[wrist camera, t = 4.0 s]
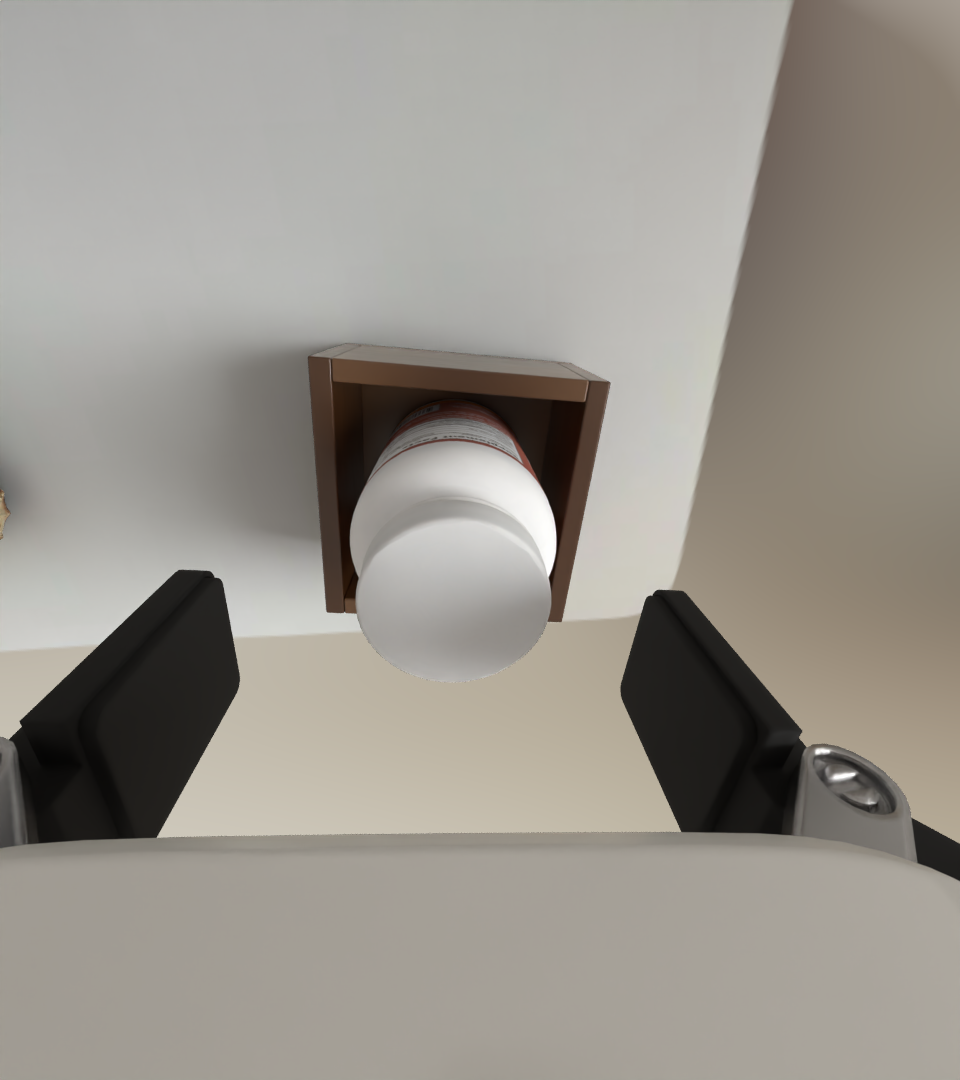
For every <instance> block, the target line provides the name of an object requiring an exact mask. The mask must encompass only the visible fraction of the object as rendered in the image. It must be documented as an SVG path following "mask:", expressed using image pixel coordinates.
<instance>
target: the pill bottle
mask: <svg viewBox="0 0 960 1080" xmlns="http://www.w3.org/2000/svg"><path fill="white" fill-rule="evenodd" d="M350 549H351V556H352V560H353V563H354V566H355V569H356V572H357V575H358V577H359V580H358V583H357V588H356V603H355V605H356V611H357V617H358V621H359V624H360V627H361V629H362V631H363V633H364V635H365V637H366V638H367V640H368V642H369V643H370V644H371V646H372V647H373V648H374V649H375V650H376V652H377V653H378V654H379V655H380V656H382V657H383V658H384V659H385V660H387V661H388V662H389V663H390V664H392V665H393V666H395V667H397V668H398V669H400V670H402V671H404V672H406V673H408V674H411V675H413V676H416V677H419V678H422V679H426V680H432V681H438V682H466V681H472V680H477V679H481V678H484V677H488V676H491V675H493V674H496V673H499V672H501V671H502V670H504V669H506V668H508V667H509V666H511V665H513V664H514V663H516V662H517V661H518V660H520V659H521V658H522V657H524V656H525V655H526V654H527V653H528V652H529V650H531V649H532V647H533V646H534V645H535V644H536V643H537V641H538V639H539V638H540V637H541V635H542V634H543V631H544V629H545V627H546V624H547V621H548V618H549V615H550V610H551V588H550V582H549V578H548V577H549V575H550V573H551V570H552V567H553V564H554V560H555V554H556V528H555V522H554V517H553V513H552V510H551V507H550V505H549V502H548V499H547V497H546V495H545V493H544V491H543V489H542V487H541V485H540V483H539V481H538V479H537V477H536V475H535V473H534V471H533V469H532V467H531V465H530V463H529V461H528V459H527V457H526V455H525V453H524V451H523V449H522V447H521V445H520V443H519V441H518V439H517V437H516V435H515V434H514V432H513V431H512V430H511V428H510V427H509V426H508V424H507V423H506V422H505V421H504V420H503V419H502V418H501V417H500V416H499V415H497V414H496V413H495V412H493V411H492V410H490V409H488V408H486V407H484V406H482V405H480V404H477V403H474V402H471V401H466V400H459V399H448V400H440V401H435V402H432V403H429V404H426V405H424V406H421V407H420V408H418V409H416V410H414V411H413V412H411V413H410V414H409V415H407V416H406V417H405V418H404V419H403V420H402V421H401V422H400V423H399V424H398V426H397V427H396V428H395V430H394V431H393V433H392V434H391V436H390V438H389V440H388V442H387V443H386V445H385V447H384V449H383V451H382V453H381V455H380V457H379V459H378V461H377V463H376V465H375V467H374V469H373V471H372V473H371V475H370V477H369V479H368V481H367V483H366V485H365V487H364V489H363V491H362V493H361V495H360V498H359V500H358V503H357V505H356V508H355V511H354V514H353V518H352V523H351V528H350Z"/></svg>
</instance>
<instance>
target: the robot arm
mask: <svg viewBox="0 0 960 1080" xmlns="http://www.w3.org/2000/svg"><path fill="white" fill-rule="evenodd" d="M239 682H240V676H239V669H238V664H237V658H236V653H235V647H234V642H233V636H232V631H231V625H230V620H229V614H228V609H227V603H226V598H225V593H224V587H223V583H222V581H221V579H219V578H214V575H213V574H212V572H210V571H198V570H178V571H177V572H175V573H174V574H173V575H172V576H171V577H170V578H169V579H168V580H167V581H166V582H165V583H164V584H163V585H162V586H161V587H160V588H159V589H158V590H156V591H155V592H154V593H153V594H152V595H151V596H150V597H149V598H148V599H147V600H146V601H145V602H144V603H143V604H142V605H141V606H140V607H139V608H138V609H137V610H136V611H134V612H133V613H132V614H131V615H130V616H129V617H128V618H127V619H126V620H125V621H124V622H123V623H122V624H121V625H120V626H119V627H118V628H117V629H116V630H115V631H114V632H113V633H111V634H110V635H109V636H108V637H107V638H106V639H105V640H104V641H103V642H102V643H101V644H100V645H99V646H98V647H97V648H96V649H95V650H94V651H93V652H92V653H91V654H90V655H88V656H87V657H86V658H85V659H84V660H83V661H82V662H81V663H80V664H79V665H78V666H77V667H76V668H75V669H74V670H73V671H72V672H71V673H70V674H69V675H68V676H67V677H65V678H64V679H63V680H62V681H61V682H60V683H59V684H58V685H57V686H56V687H55V688H54V689H53V690H52V691H51V692H50V693H49V694H48V695H47V696H46V697H45V698H44V699H43V700H41V701H40V702H39V703H38V704H37V705H36V706H35V707H34V708H33V709H32V710H31V711H30V712H29V713H28V714H27V715H26V716H25V717H24V718H23V719H22V720H20V724H21V725H22V727H21V728H20V729H19V730H18V731H17V732H16V733H15V734H14V735H13V736H12V737H11V738H10V739H9V740H8V739H6V738H4V737H0V1080H960V844H959V843H957V842H955V841H954V840H952V839H950V838H948V837H946V836H944V835H942V834H940V833H939V832H937V831H935V830H933V829H931V828H929V827H928V826H926V825H924V824H922V823H920V822H918V821H917V820H915V819H913V818H911V812H910V807H909V804H908V802H907V799H906V797H905V795H904V793H903V792H902V791H901V789H900V788H899V786H898V785H897V784H896V783H895V782H894V781H893V780H892V779H891V778H890V777H889V776H888V775H887V774H886V773H885V772H884V771H882V770H881V769H880V768H878V767H877V766H876V765H874V764H873V763H871V762H870V761H868V760H867V759H865V758H863V757H861V756H859V755H857V754H856V753H854V752H851V751H849V750H846V749H844V748H841V747H838V746H834V745H828V744H814V745H811V746H809V747H806V746H805V745H804V744H803V742H802V741H801V740H800V739H799V736H800V734H801V733H802V730H801V729H800V728H799V726H798V725H797V724H796V723H795V722H794V721H793V719H792V718H791V717H790V716H789V715H788V713H787V712H786V711H785V710H784V709H783V708H782V707H781V705H780V704H779V703H778V702H777V700H776V699H775V698H774V697H773V696H772V695H771V693H770V692H769V691H768V690H767V689H766V687H765V686H764V685H763V684H762V683H761V682H760V680H759V679H758V678H757V677H756V676H755V674H754V673H753V672H752V671H751V670H750V669H749V667H748V666H747V665H746V664H745V663H744V661H743V660H742V659H741V658H740V657H739V656H738V654H737V653H736V652H735V651H734V650H733V648H732V647H731V646H730V645H729V644H728V643H727V641H726V640H725V639H724V638H723V637H722V635H721V634H720V633H719V632H718V631H717V630H716V628H715V627H714V626H713V625H712V624H711V622H710V621H709V620H708V619H707V618H706V617H705V616H704V614H703V613H702V612H701V611H700V609H699V608H698V607H697V606H696V605H695V604H694V602H693V601H692V600H691V599H690V598H689V597H688V595H687V594H686V593H684V592H683V591H675V590H657V591H655V592H654V594H653V596H648V597H647V598H646V600H645V603H644V606H643V610H642V613H641V617H640V620H639V624H638V627H637V631H636V634H635V637H634V641H633V645H632V648H631V651H630V655H629V659H628V662H627V665H626V669H625V672H624V675H623V680H622V682H621V697H622V700H623V703H624V705H625V707H626V709H627V712H628V714H629V716H630V718H631V720H632V723H633V725H634V727H635V730H636V732H637V734H638V736H639V738H640V741H641V743H642V745H643V747H644V750H645V752H646V754H647V756H648V758H649V761H650V763H651V765H652V767H653V769H654V772H655V774H656V776H657V779H658V780H659V783H660V785H661V787H662V790H663V792H664V794H665V796H666V799H667V801H668V803H669V805H670V807H671V809H672V812H673V814H674V816H675V819H676V821H677V823H678V825H679V828H680V830H681V832H600V833H599V832H598V833H597V832H591V833H589V832H583V833H581V832H580V833H579V832H577V833H576V832H573V833H572V832H569V833H567V832H566V833H433V834H343V835H279V836H278V835H277V836H217V837H216V836H212V837H169V838H157V836H158V834H159V832H160V830H161V829H162V827H163V825H164V823H165V821H166V820H167V818H168V816H169V814H170V812H171V811H172V809H173V807H174V805H175V803H176V801H177V800H178V798H179V796H180V794H181V792H182V791H183V789H184V787H185V785H186V783H187V782H188V780H189V778H190V776H191V774H192V773H193V771H194V769H195V767H196V765H197V764H198V762H199V760H200V758H201V756H202V755H203V753H204V751H205V749H206V747H207V746H208V744H209V742H210V740H211V738H212V737H213V735H214V733H215V731H216V729H217V728H218V726H219V724H220V722H221V720H222V718H223V717H224V715H225V713H226V711H227V709H228V708H229V706H230V704H231V702H232V700H233V699H234V697H235V695H236V693H237V691H238V688H239Z"/></svg>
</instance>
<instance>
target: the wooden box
mask: <svg viewBox="0 0 960 1080" xmlns="http://www.w3.org/2000/svg"><path fill="white" fill-rule="evenodd" d="M308 369H309V382H310V396H311V409H312V423H313V436H314V450H315V464H316V477H317V491H318V504H319V518H320V531H321V545H322V558H323V572H324V585H325V599H326V611H327V612H328V613H344V612H345V613H355V614H357V611H356V605H355V603H356V588H357V583H358V580H359V577H358V575H357V572H356V569H355V566H354V563H353V560H352V556H351V549H350V528H351V523H352V518H353V514H354V511H355V508H356V505H357V503H358V500H359V498H360V495H361V493H362V491H363V489H364V487H365V485H366V483H367V481H368V479H369V477H370V475H371V473H372V471H373V469H374V467H375V465H376V463H377V461H378V459H379V457H380V455H381V453H382V451H383V449H384V447H385V445H386V443H387V442H388V440H389V438H390V436H391V434H392V433H393V431H394V430H395V428H396V427H397V426H398V424H399V423H400V422H401V421H402V420H403V419H404V418H405V417H406V416H407V415H409V414H410V413H411V412H413V411H414V410H416V409H418V408H420V407H421V406H424V405H426V404H429V403H432V402H435V401H440V400H448V399H459V400H466V401H471V402H474V403H477V404H480V405H482V406H484V407H486V408H488V409H490V410H492V411H493V412H495V413H496V414H497V415H499V416H500V417H501V418H502V419H503V420H504V421H505V422H506V423H507V424H508V426H509V427H510V428H511V430H512V431H513V432H514V434H515V435H516V437H517V439H518V441H519V443H520V445H521V447H522V449H523V451H524V453H525V455H526V457H527V459H528V461H529V463H530V465H531V467H532V469H533V471H534V473H535V475H536V477H537V479H538V481H539V483H540V485H541V487H542V489H543V491H544V493H545V495H546V497H547V499H548V502H549V505H550V507H551V510H552V513H553V517H554V522H555V528H556V554H555V560H554V564H553V567H552V570H551V573H550V575H549V577H548V578H549V582H550V588H551V610H550V615H549V618H548V621H547V622H562V618H563V613H564V609H565V604H566V599H567V594H568V589H569V584H570V579H571V574H572V569H573V565H574V560H575V555H576V550H577V545H578V540H579V535H580V530H581V525H582V521H583V516H584V511H585V506H586V501H587V496H588V491H589V486H590V481H591V477H592V472H593V467H594V462H595V457H596V452H597V447H598V442H599V437H600V432H601V428H602V423H603V418H604V413H605V408H606V403H607V398H608V393H609V388H610V382H608V381H606V380H604V379H602V378H600V377H598V376H596V375H594V374H592V373H590V372H588V371H586V370H584V369H582V368H579V367H577V366H575V365H574V364H572V363H565V362H554V361H543V360H531V359H520V358H509V357H498V356H487V355H476V354H464V353H453V352H442V351H431V350H420V349H409V348H398V347H386V346H375V345H364V344H353V343H346V344H343V345H340V346H337V347H334V348H331V349H328V350H325V351H322V352H319V353H316V354H313V355H310V356H308Z"/></svg>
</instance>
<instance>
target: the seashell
mask: <svg viewBox="0 0 960 1080" xmlns="http://www.w3.org/2000/svg"><path fill="white" fill-rule="evenodd" d="M10 514H11V513H10V511H9V510H8V509H7V507H6V504H5V500H4V491H3V490H1V489H0V540H1V539H2V538H3V534H2V531H3V527H4V524H5V521H6V518H7V517H8V516H9V515H10Z"/></svg>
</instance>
